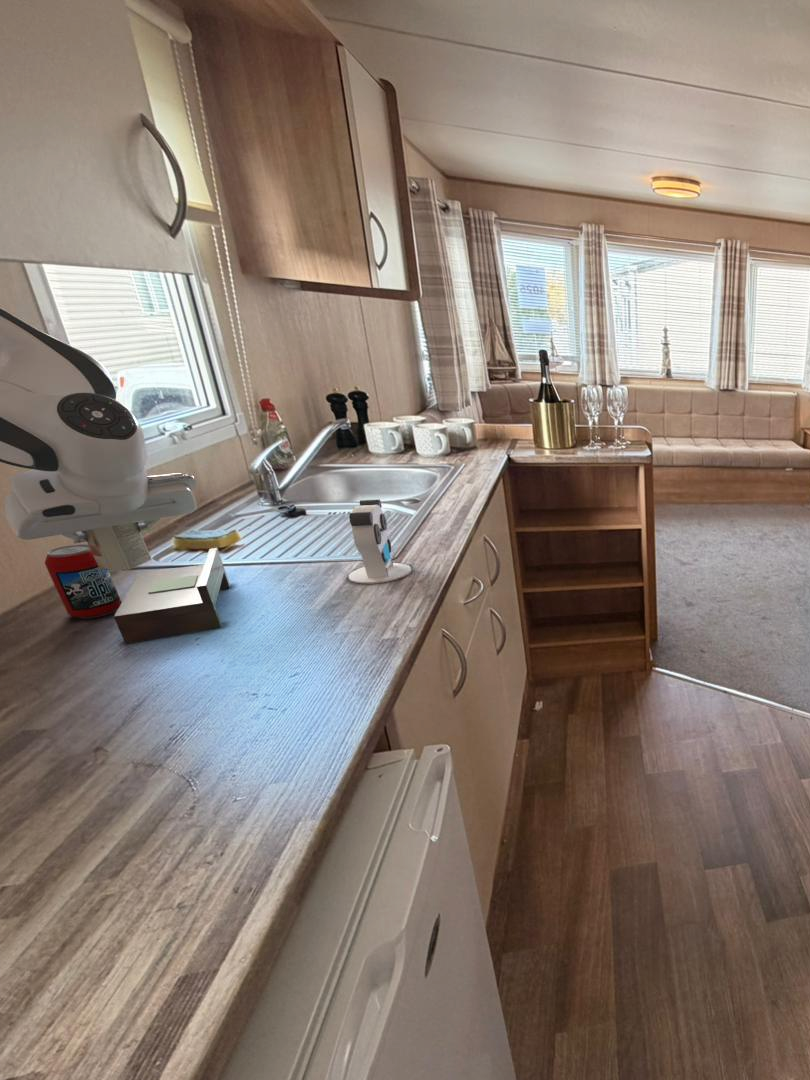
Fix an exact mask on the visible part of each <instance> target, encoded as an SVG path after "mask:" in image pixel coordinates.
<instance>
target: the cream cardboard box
mask: <svg viewBox="0 0 810 1080" xmlns="http://www.w3.org/2000/svg"><path fill="white" fill-rule="evenodd" d="M83 533H85V535H86V537H87V541H86V543H87V545H89V547H90V549H91V551H92V553H93V556H94V558H95V560H96V562H97V564H98V566H99V568H100V570H108V571H129V570H132V569H134V568H136V567H139V566H141V565H143V564H145V563H147V562H150V561H152V556H151V554H150V552H149V550H148V548H147V545H146V542H145V539H144V537H143V535H142V532H140V531H139V528H138V526H137V523H136V522H135V523H129V524H123V525H116V526H110V527H104V528H98V529H92V530H85V531H83Z"/></svg>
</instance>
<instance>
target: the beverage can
mask: <svg viewBox="0 0 810 1080" xmlns="http://www.w3.org/2000/svg"><path fill="white" fill-rule="evenodd" d="M44 565H45V568H46V569H47V572H48V574H49V576H50V578H51V581H52V582H53V585H54V588H55V589H56V591H57V594H58V595H59V598H60V600H61V602H62V604H63V606H64V608H65V611H66V612H67V614H68V615H69V616H70V617H74V618H79V619H95V618H100V617H104V616H108V615H111V614H112V613H116V612H117V610H118V608H119V606H120V605H121V603H122V599H121V597H120V595H119V592H118V589H117V587H116V585H115V582H114V580H113V577H112V576H111V575H112V574H111V573H110V570H100V568H99V566H98V564H97V562H96V560H95V558H94V556H93V553H92V551H91V549H90V547H89V545H88V544H72V545H70V544H69V545H63V546H59V547H56V548H52V549H49V550H48V551H47V552H46V557H45V560H44Z"/></svg>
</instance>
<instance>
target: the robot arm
mask: <svg viewBox="0 0 810 1080" xmlns="http://www.w3.org/2000/svg"><path fill="white" fill-rule="evenodd" d="M0 357H1V358H2V359H3V361H4V362H2V363H0V463H3V464H6V465H9V466H12V467H18V468H23V469H28V470H25V471H21V472H18V473H14V474H12V475H10V476H9V477H8V481H9V483H10V486H11V489H12V490H10V491H9V492H8V493H7V495H6V496H5V501H4V503H5V504H4V512H5V517H6V520H7V523H8V525H9V527H10V528H11V530H12V532H13V533H14V535H15V536H16V537H17V538H19V539H23V540H27V541H29V540H30V541H31V540H37V539H42V538H47V537H48V538H49V537H54V536H60V535H61V536H63V537H65V538H69V539H70V540H71V541H72V543H73V545H76V544H78V543H80V544H81V543H85V542H86V543H87V537H86V535H85V533H83V531H85V530H92V529H98V528H104V527H110V526H116V525H123V524H129V523H135V522H136V523H137V526H138V528H139V531H140V533H144V532H150V531H152V530H153V526H154V525H156V524H157V523H158V522H159V521H160V520H161V519H165V518H171V517H176V516H183V515H189V514H191V513H193V512H194V511H196V510H197V502H196V498H195V496H194V494H193V492H192V490H194V489H195V488H196V485H197V484H196V482H197V481H196V477H194V476H193V475H190V474H183V473H182V472H175V473H165V474H157V475H148V470H147V467H146V464H147V444H146V438H145V435H144V431H143V429H142V426H141V424H140V422H139V420H137V418H136V416H135V415H134V414H133V413H132V411H131V410H130V409H129V408H128V407H127V406H125V405H124V404H122V403H121V402H119V401H117V400H116V399H117V391H116V387H115V383H114V381H113V378H112V376H111V374H110V373H109V371H108V370H107V368H106V367H105V366H104V365H103V363H101V361H99V360H98V359H96V358H95V357H94V356H93V355H90V354H89V353H87V352H85V351H83V350H82V349H80V348H78V347H75V346H73V345H71V344H69V343H67V342H65V341H62V340H60V339H59V338H56V337H54V336H52V335H49V334H47V333H45V332H44V331H41V330H39V329H38V328H36V327H34V326H32V325H31V324H29V323H28V322H25V321H24V320H22V319H20V318H19V317H17V316H15V315H13V314H12V313H11V312H8V311H6V310H5V309H3V308H2V307H0Z"/></svg>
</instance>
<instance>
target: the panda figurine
mask: <svg viewBox="0 0 810 1080" xmlns="http://www.w3.org/2000/svg"><path fill="white" fill-rule="evenodd" d="M382 507H383V506H382V501H381V499H363V500H359V505H356V506H355V507H354V508H353V509H352V512H349V523H350V525H351V530H352V531H351V532H352V538H353V541H354V545H355V548H356V549H357V551H358V553H359V554H360V555H361V558H362V562H363V566H362V567H360V568H357V569H355V570H353V571H352V572H350V573H349V574H348V580H349V581H350V582H352V583H356V584H361V585H372V584H373V585H374V584H382V583H388V582H393V581H396V580H400V579H402V578H404V577H406V576H408V575H409V574H411V572H412V567H411V566H410V565H408V564H405V563H401V562H393V558H392V555H391V552H392V542H391V540H390V539H389V538H388V524H387V523H388V522H387V518H386V516H385V514H384V513H383V510H382Z"/></svg>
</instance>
